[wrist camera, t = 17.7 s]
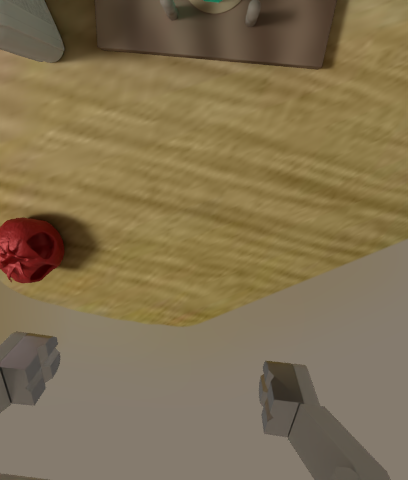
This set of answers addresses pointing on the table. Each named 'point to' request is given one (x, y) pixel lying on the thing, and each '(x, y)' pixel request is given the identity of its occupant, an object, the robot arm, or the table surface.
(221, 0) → the candle
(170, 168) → the table surface
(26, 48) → the photo printer
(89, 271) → the table surface
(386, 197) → the table surface
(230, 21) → the candle stand
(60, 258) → the pomegranate
